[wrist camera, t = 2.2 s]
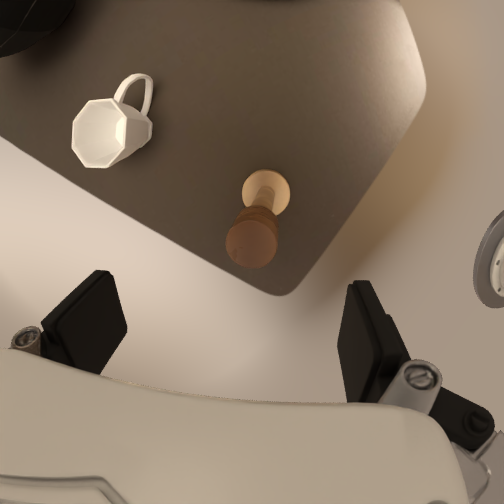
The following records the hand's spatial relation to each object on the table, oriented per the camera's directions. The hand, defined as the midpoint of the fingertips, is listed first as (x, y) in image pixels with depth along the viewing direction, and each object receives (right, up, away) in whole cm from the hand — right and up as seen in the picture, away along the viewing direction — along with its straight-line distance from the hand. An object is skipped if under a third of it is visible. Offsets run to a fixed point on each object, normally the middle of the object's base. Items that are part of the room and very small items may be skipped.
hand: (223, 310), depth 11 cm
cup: (-11, +17, +18) cm, 27 cm away
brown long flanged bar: (+3, +9, +20) cm, 22 cm away
